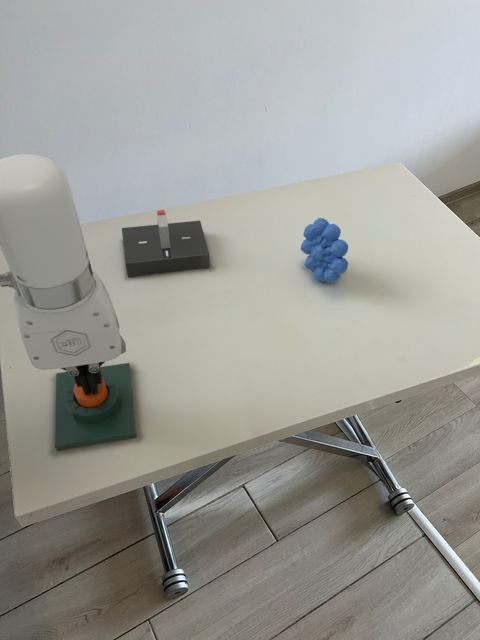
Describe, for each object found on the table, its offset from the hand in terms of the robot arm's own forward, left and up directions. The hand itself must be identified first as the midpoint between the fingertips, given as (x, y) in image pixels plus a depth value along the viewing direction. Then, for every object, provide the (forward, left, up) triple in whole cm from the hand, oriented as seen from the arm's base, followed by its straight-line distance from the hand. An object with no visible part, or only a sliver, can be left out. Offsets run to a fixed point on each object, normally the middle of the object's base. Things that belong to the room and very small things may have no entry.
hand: (91, 385), depth 69 cm
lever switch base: (+13, +31, -5) cm, 34 cm away
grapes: (+39, +20, -5) cm, 44 cm away
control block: (0, 0, -5) cm, 5 cm away
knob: (+13, +31, -2) cm, 34 cm away
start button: (0, 0, -2) cm, 2 cm away
